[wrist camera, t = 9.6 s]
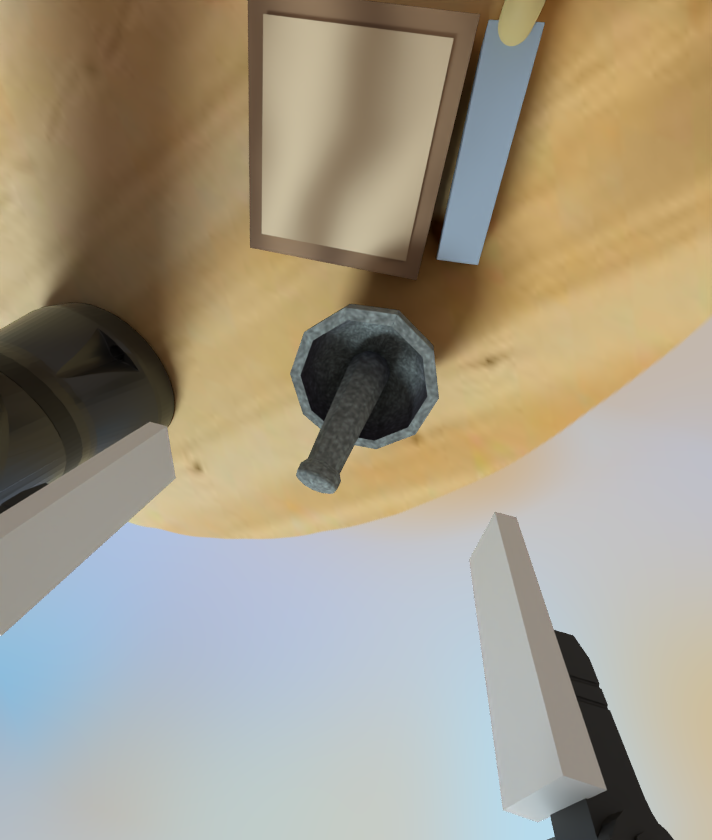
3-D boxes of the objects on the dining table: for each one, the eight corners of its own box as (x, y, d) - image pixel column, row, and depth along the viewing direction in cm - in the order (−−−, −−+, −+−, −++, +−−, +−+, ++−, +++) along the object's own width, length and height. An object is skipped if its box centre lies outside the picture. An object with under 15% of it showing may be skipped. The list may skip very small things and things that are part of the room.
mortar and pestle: (348, 270, 24) (288, 286, 13) (458, 325, 24) (484, 384, 14) (302, 391, 29) (236, 469, 19) (392, 435, 30) (375, 534, 19)
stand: (262, 247, 24) (248, 247, 22) (264, 11, 18) (244, -18, 16) (417, 277, 23) (416, 280, 21) (474, 38, 17) (481, 10, 15)
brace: (484, 30, 17) (502, -35, 13) (533, 33, 16) (566, -33, 12) (435, 258, 22) (438, 260, 18) (472, 263, 22) (482, 266, 18)
